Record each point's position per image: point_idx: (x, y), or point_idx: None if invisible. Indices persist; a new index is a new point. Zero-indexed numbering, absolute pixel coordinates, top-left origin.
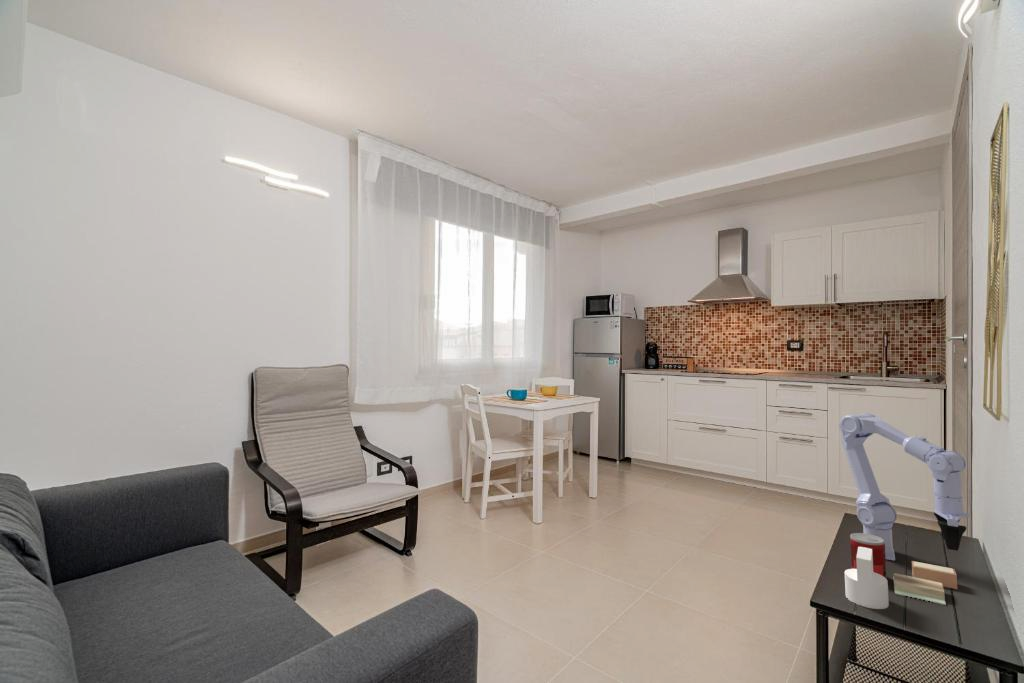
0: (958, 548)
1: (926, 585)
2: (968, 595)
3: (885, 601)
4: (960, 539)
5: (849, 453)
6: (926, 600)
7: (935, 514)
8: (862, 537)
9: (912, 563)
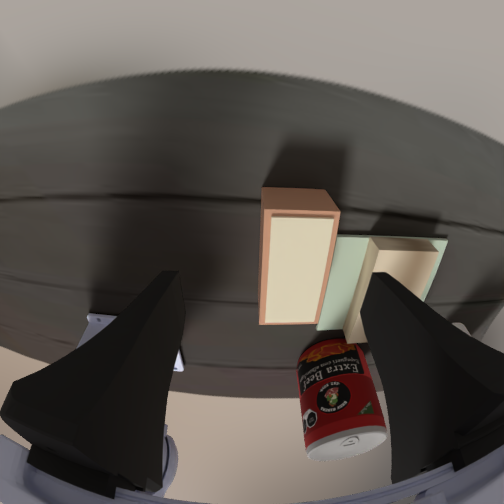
0: (395, 279)
1: (410, 286)
2: (360, 166)
3: (468, 333)
4: (444, 320)
5: None
6: (434, 273)
7: (156, 490)
8: (337, 450)
9: (284, 323)
